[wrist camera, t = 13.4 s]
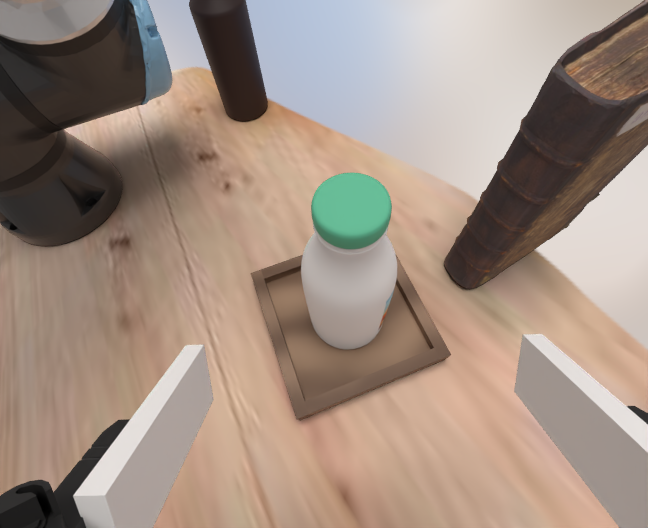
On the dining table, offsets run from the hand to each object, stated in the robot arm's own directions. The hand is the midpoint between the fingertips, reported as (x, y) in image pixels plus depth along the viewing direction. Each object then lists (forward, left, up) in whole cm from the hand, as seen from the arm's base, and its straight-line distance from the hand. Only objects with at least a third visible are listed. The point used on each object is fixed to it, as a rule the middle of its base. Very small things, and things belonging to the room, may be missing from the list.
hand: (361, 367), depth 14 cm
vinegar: (-47, +2, -22) cm, 52 cm away
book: (-11, +24, -22) cm, 35 cm away
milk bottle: (-9, +3, -21) cm, 23 cm away
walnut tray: (-9, +3, -22) cm, 24 cm away
